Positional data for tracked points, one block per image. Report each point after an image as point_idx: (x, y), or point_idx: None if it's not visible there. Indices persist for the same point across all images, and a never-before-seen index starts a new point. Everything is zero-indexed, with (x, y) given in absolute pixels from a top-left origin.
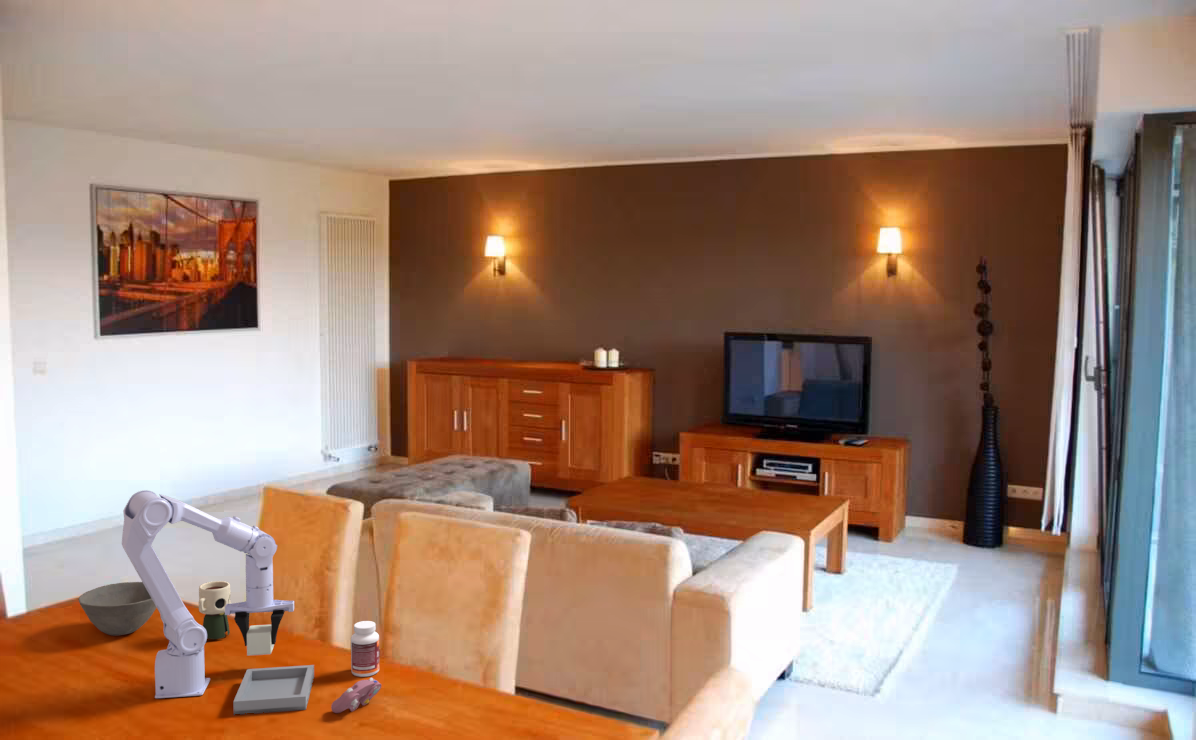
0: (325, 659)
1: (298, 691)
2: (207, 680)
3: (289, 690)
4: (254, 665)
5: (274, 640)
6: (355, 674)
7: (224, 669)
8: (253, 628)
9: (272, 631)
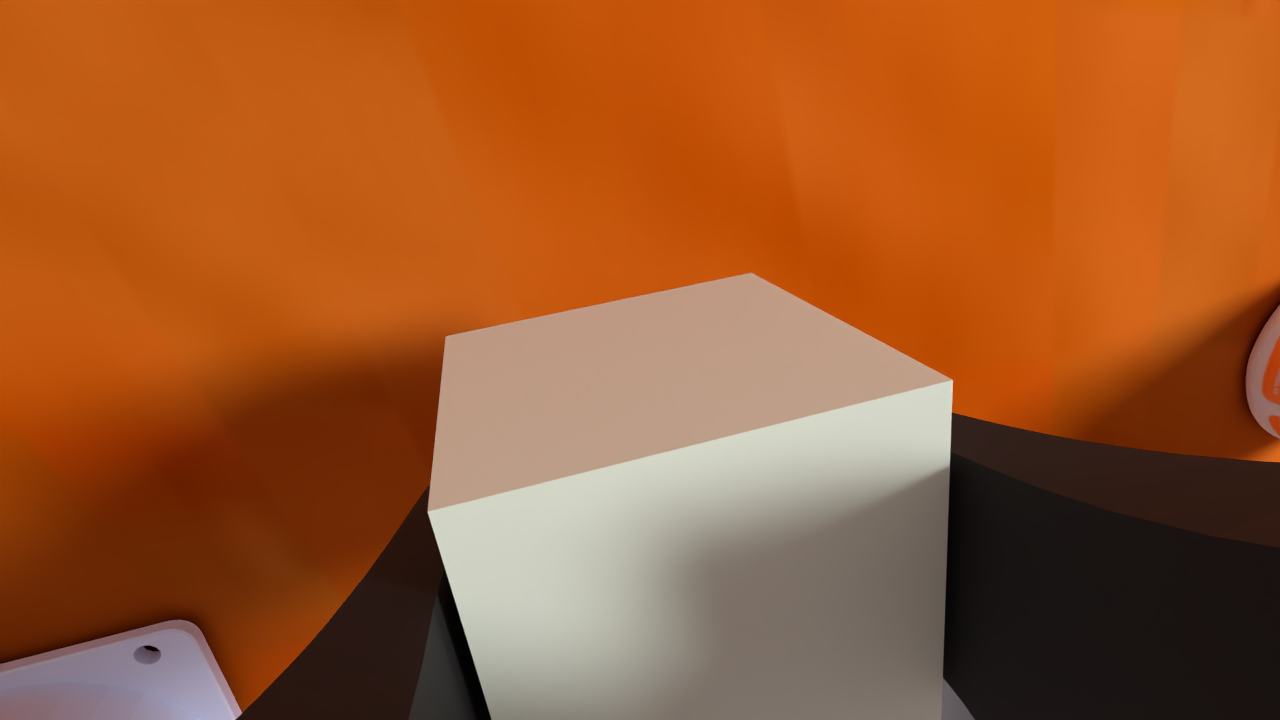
0: (1095, 105)
1: (955, 713)
2: (194, 677)
3: None
4: (479, 256)
5: None
6: (1267, 430)
7: (187, 369)
8: (578, 653)
9: (958, 678)
